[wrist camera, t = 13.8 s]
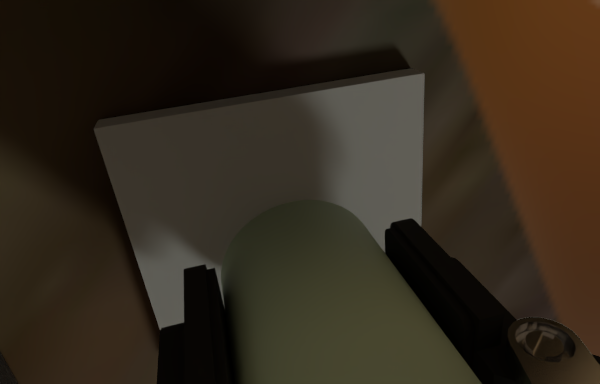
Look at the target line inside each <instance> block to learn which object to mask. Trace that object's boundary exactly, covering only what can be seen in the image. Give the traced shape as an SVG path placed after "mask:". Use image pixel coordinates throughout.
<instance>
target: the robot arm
mask: <svg viewBox="0 0 600 384" xmlns="http://www.w3.org/2000/svg"><path fill="white" fill-rule="evenodd" d="M385 254H386V255H387V256H388V258H389V259H390V260H391V262H392V263H393V265H394V266H395V267H396V269H397V270H398V271H399V273H400V274H401V275H402V277H403V278H404V279H405V281H406V282H407V283H408V285H409V286H410V287H411V289H412V290H413V291H414V293H415V294H416V296H417V297H418V298H419V300H420V301H421V302H422V304H423V305H424V306H425V308H426V309H427V310H428V312H429V313H430V314H431V316H432V317H433V318H434V320H435V321H436V323H437V324H438V325H439V327H440V328H441V329H442V331H443V332H444V333H445V335H446V336H447V337H448V339H449V340H450V341H451V343H452V344H453V345H454V347H455V348H456V349H457V351H458V352H459V354H460V355H461V356H462V358H463V359H464V360H465V362H466V363H467V364H468V366H469V367H470V368H471V370H472V371H473V372H474V374H475V375H476V376H477V378H478V379H479V381H480V382H481V383H482V384H600V357H599V356H596V355H592V354H591V353H590V352H589V350H588V349H587V347H586V346H585V345H584V343H583V342H582V341H581V339H580V338H579V337H578V336H577V335H576V334H575V333H574V332H573V331H572V330H570V329H569V328H567V327H566V326H564V325H563V324H560V323H558V322H556V321H553V320H550V319H546V318H541V317H526V318H522V319H519V320H516V319H515V318H514V317H513V316H512V315H511V314H510V313H509V312H508V311H507V310H506V309H505V308H504V307H503V306H502V305H501V304H500V302H499V301H498V300H497V299H496V298H495V297H494V296H493V295H492V294H491V293H490V292H489V291H488V290H487V289H486V288H485V287H484V286H483V285H482V284H481V283H480V282H479V281H478V280H477V279H476V278H475V277H474V276H473V275H472V274H471V273H470V272H469V271H468V270H467V269H466V268H465V267H464V266H463V265H462V264H461V263H460V262H459V261H458V260H457V259H455V258H452V257H450V256H449V255H448V254H447V253H446V252H445V251H444V250H443V249H442V248H441V247H440V246H439V245H438V244H437V243H436V242H435V241H434V240H433V239H432V238H431V237H430V236H429V235H428V233H427V232H426V231H425V230H424V229H423V228H422V227H421V226H420V225H419V224H418V223H417V222H416V221H415V220H414V219H412V218H409V219H405V220H400V221H396V222H392V223H391V225H390V228H388V229H386V230H385ZM157 384H235V381H234V374H233V367H232V359H231V352H230V344H229V337H228V329H227V322H226V314H225V308H224V304H223V300H222V296H221V291H220V287H219V283H218V279H217V274H216V270H215V268H212V269H207V267H206V265H205V264H204V265H199V266H195V267H190V268H186V269H184V323H179V324H175V325H171V326H167V327H163V328H161V330H160V339H159V356H158V373H157Z"/></svg>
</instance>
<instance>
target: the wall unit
mask: <svg viewBox="0 0 600 384" xmlns="http://www.w3.org/2000/svg"><path fill="white" fill-rule="evenodd" d="M0 384H18V382H17V381H16V379H15V377H14V375H13V374H12V372H11V370H10V368H9V366H8V365H7V363H6V361H5V359H4V358H3V356H2V354H1V352H0Z"/></svg>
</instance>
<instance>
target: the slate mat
mask: <svg viewBox="0 0 600 384" xmlns="http://www.w3.org/2000/svg"><path fill="white" fill-rule="evenodd" d="M423 119H424V73H423V72H420V71H418V70H415V69H413V68H409V69H403V70H397V71H391V72H385V73H379V74H373V75H367V76H361V77H355V78H349V79H343V80H337V81H331V82H325V83H318V84H312V85H306V86H300V87H294V88H288V89H282V90H276V91H270V92H264V93H258V94H252V95H246V96H240V97H234V98H228V99H222V100H215V101H209V102H203V103H197V104H191V105H185V106H179V107H173V108H167V109H161V110H155V111H149V112H143V113H137V114H131V115H125V116H118V117H112V118H106V119H100V120H98V122H97V123H96V125H95V127H94V132H95V135H96V138H97V141H98V144H99V147H100V150H101V153H102V156H103V159H104V162H105V165H106V168H107V171H108V174H109V178H110V181H111V184H112V187H113V190H114V193H115V196H116V199H117V202H118V205H119V208H120V211H121V214H122V217H123V220H124V223H125V226H126V229H127V232H128V235H129V238H130V241H131V244H132V247H133V250H134V253H135V256H136V259H137V262H138V265H139V268H140V271H141V274H142V277H143V280H144V283H145V286H146V289H147V292H148V295H149V298H150V301H151V305H152V308H153V311H154V314H155V317H156V320H157V323H158V326H159V329H160V330H161V328H163V327H167V326H171V325H175V324H179V323H184V269H186V268H190V267H195V266H199V265H204V264H205V265H206V267H207V269H212V268H215V270H216V274H217V279H218V283H219V287H220V291H221V296H222V300H223V304H224V299H223V292H222V284H221V269H222V263H223V259H224V256H225V253H226V251H227V249H228V247H229V245H230V243H231V242H232V240H233V239H234V238H235V236H236V235H237V234H238V233H239V231H240V230H241V229H242V228H243V227H244V226H245V225H246V224H247V223H249V222H250V221H251V220H252V219H254V218H255V217H257V216H258V215H259V214H261V213H263V212H265V211H267V210H269V209H271V208H273V207H276V206H278V205H281V204H284V203H288V202H292V201H299V200H320V201H326V202H330V203H334V204H336V205H339V206H342V207H343V208H345V209H347V210H349V211H350V212H352V213H353V214H354V215H355V216H357V217H358V218H359V219H360V221H361V222H362V223H363V224H364V225H365V227H366V228H367V229H368V231H369V232H370V233H371V235H372V236H373V238H374V239H375V240H376V242H377V243H378V244H379V246H380V247H381V248H382V250H383V251H384V252H385V230H386V229H388V228H390V225H391V223H392V222H396V221H400V220H405V219H409V218H412V219H414V220H415V221H416V222H417V223H418V224H419V225H420V226H421V213H422V166H423ZM224 308H225V307H224Z"/></svg>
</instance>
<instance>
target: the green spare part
mask: <svg viewBox="0 0 600 384" xmlns="http://www.w3.org/2000/svg"><path fill="white" fill-rule="evenodd" d="M221 284H222V292H223V299H224V307H225V314H226V322H227V329H228V337H229V344H230V352H231V359H232V367H233V374H234V381H235V384H482V383H481V382H480V381H479V379H478V378H477V376H476V375H475V374H474V372H473V371H472V370H471V368H470V367H469V366H468V364H467V363H466V362H465V360H464V359H463V358H462V356H461V355H460V354H459V352H458V351H457V349H456V348H455V347H454V345H453V344H452V343H451V341H450V340H449V339H448V337H447V336H446V335H445V333H444V332H443V331H442V329H441V328H440V327H439V325H438V324H437V323H436V321H435V320H434V318H433V317H432V316H431V314H430V313H429V312H428V310H427V309H426V308H425V306H424V305H423V304H422V302H421V301H420V300H419V298H418V297H417V296H416V294H415V293H414V291H413V290H412V289H411V287H410V286H409V285H408V283H407V282H406V281H405V279H404V278H403V277H402V275H401V274H400V273H399V271H398V270H397V269H396V267H395V266H394V265H393V263H392V262H391V260H390V259H389V258H388V256H387V255H386V254H385V252H384V251H383V250H382V248H381V247H380V246H379V244H378V243H377V242H376V240H375V239H374V238H373V236H372V235H371V233H370V232H369V231H368V229H367V228H366V227H365V225H364V224H363V223H362V222H361V221H360V219H359V218H358V217H357V216H355V215H354V214H353V213H352V212H350V211H349V210H347V209H345V208H343V207H342V206H339V205H336V204H334V203H330V202H326V201H320V200H299V201H292V202H288V203H284V204H281V205H278V206H276V207H273V208H271V209H269V210H267V211H265V212H263V213H261V214H259V215H258V216H257V217H255V218H254V219H252V220H251V221H250V222H249V223H247V224H246V225H245V226H244V227H243V228H242V229H241V230H240V231H239V233H238V234H237V235H236V236H235V238H234V239H233V240H232V242H231V243H230V245H229V247H228V249H227V251H226V253H225V256H224V259H223V263H222V269H221Z"/></svg>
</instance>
